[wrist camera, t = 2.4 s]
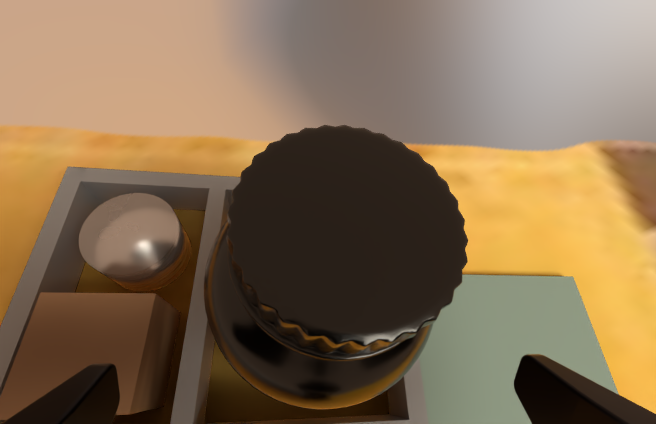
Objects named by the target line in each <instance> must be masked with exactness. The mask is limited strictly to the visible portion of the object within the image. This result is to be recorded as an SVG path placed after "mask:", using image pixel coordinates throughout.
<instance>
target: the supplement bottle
mask: <svg viewBox="0 0 656 424" xmlns="http://www.w3.org/2000/svg"><path fill="white" fill-rule="evenodd" d="M464 221H465V220H464V218H463V216H462V214H461V213H460V211H459V210H458V200H457V199H456V198H455V197H454V195H453V194H452V193H451V192H450V190H449V186H448V184H447V182H446V181H445V180H443V179H442V178H441V177H440V176H438V174H437V172H436V170H435V168H434V167H433V166H431V165H430V164H428V163H426V162H425V161H424V160H423V159H422V157H421V156H420V155H419V154H418V153H416V152H414V151H411V150H409V149H408V148H407V147H406V146H405V145H404V144H403V143H402V142H398V141H395V140H391V139H390V138H388V137H387V136H386V135H384V134H380V133H373V132H371V131H369V130H367V129H365V128H352V127H349V126H346V125H342V126H338V127H334V126H328V125H323V126H321V127H319V128H305V129H303V130H301V131H300V132H298V133H291V134H286V135H285V136H284V137H283V138H282V139H281V140H280V141H276V142H273V143H270V144H269V145H268V146H267V148H266V150H265V151H263V152H261V153H259V154H257V155H255V156H254V158H253V160H252V164H251V165H250V166H249V167H247V168H246V169H245V170H244V171H242V173H241V178H240V183H239V184H238V185H237V186H236V187H235V188H234V190H233V191H232V204H231V206H230V208H229V210H228V212H227V221H226V222H225V224H224V225H223V227H222V228H221V229H220V231H219V233H218V235H217V237H216V239H215V241H214V243H213V245H212V248H211V250H210V254H209V257H208V260H207V264H206V270H205V276H204V303H205V310H206V315H207V319H208V323H209V326H210V328H211V331H212V334H213V336H214V338H215V340H216V342H217V345H218V347H219V349H220V350H221V352H222V353H223V355H224V357H225V358H226V360H227V361H228V362H229V364H230V365H231V366H232V367H233V369H234V370H235V371H236V372H237V373H238V374H239V375H240V376H241V377H242V378H243V379H244V380H245V381H247V382H248V383H249V384H250V385H251V386H253V387H254V388H256V389H257V390H259V391H260V392H262V393H263V394H265V395H267V396H269V397H271V398H273V399H275V400H277V401H280V402H283V403H286V404H288V405H292V406H296V407H301V408H308V409H335V408H343V407H348V406H352V405H356V404H359V403H362V402H365V401H367V400H370V399H372V398H374V397H376V396H378V395H380V394H382V393H383V392H385V391H386V390H388V389H389V388H391V387H392V386H393V385H394V384H396V383H397V382H398V381H399V380H400V379H401V378H402V377H403V376H404V375H405V374H406V373H407V372H408V371H409V370H410V369H411V367H412V366H413V365H414V364H415V362H416V361H417V360H418V358H419V356H420V355H421V353H422V351H423V350H424V348H425V345H426V343H427V341H428V339H429V336H430V333H431V330H432V327H433V323H434V322H435V321H436V320H437V318H438V316H439V314H440V311H441V310H442V309H443V308H445V307H447V306H449V305H450V304H451V303H452V300H453V296H454V290H455V289H456V288H457V287H458V286H459V285H460V284H461V283H462V269H463V268H464V266H465V265H466V263H467V256H466V252H465V247H466V245H467V242H468V239H467V236H466V234H465V231H464Z"/></svg>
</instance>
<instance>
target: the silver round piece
mask: <svg viewBox="0 0 656 424" xmlns="http://www.w3.org/2000/svg"><path fill="white" fill-rule="evenodd" d="M79 249H80V252H81V254H82V256H83V258H84V260H85V261H86V262H87V263H88V264H89V265H90V266H92V267H93V268H94V269H96V270H97V271H99V272H101V273H102V274H104V275H105V276H107V277H108V278H110V279H111V280H113V281H115V282H116V283H118V284H119V285H121V286H122V287H124V288H126V289H129V290H132V291H138V292H148V291H154V290H157V289H160V288H163V287H165V286H167V285H169V284H170V283H172V282H173V281H175V280H176V279H177V278H178V277H179V276H180V275H181V274H182V273H183V271H184V270H185V268H186V267H187V265H188V263H189V260H190V256H191V243H190V239H189V237H188V235H187V234H186V232H185V230H184V228H183V226H182V225H181V223H180V221H179V219H178V218H177V216H176V214H175V212H174V211H173V209H172V208H171V206H170V205H169V204H168V203H167V202H165V201H164V200H162V199H161V198H159V197H157V196H154V195H150V194H145V193H130V194H124V195H120V196H117V197H114V198H112V199H110V200H108V201H106V202H104V203H103V204H101V205H100V206H98V207H97V208H96V209H95V210H94V211H93V212H92V213H91V214H90V215H89V216H88V217H87V219H86V220H85V222H84V224H83V226H82V228H81V231H80V234H79Z"/></svg>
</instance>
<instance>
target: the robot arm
mask: <svg viewBox="0 0 656 424" xmlns="http://www.w3.org/2000/svg"><path fill="white" fill-rule="evenodd" d="M514 389H515V392H516V394H517V396H518V398H519V400H520V402H521V404H522V406H523V408H524V410H525V411H526V413H527V415H528V417H529V419H530V421H531V423H532V424H656V414H654V413H652V412H651V411H649V410H647V409H645V408H643V407H641V406H639V405H637V404H635V403H634V402H632V401H630V400H628V399H626V398H624V397H622V396H620V395H618V394H616V393H615V392H613V391H611V390H609V389H607V388H605V387H603V386H601V385H599V384H597V383H596V382H594V381H592V380H590V379H588V378H586V377H584V376H582V375H580V374H578V373H577V372H575V371H573V370H571V369H569V368H567V367H565V366H563V365H561V364H559V363H558V362H556V361H554V360H552V359H550V358H548V357H546V356H544V355H541V354H526V355H524V356H523V357H522V358H521V360H520V363H519V366H518V369H517V372H516V375H515V378H514ZM119 401H120V391H119V383H118V375H117V369H116V366H115V365H114V364H112V363H101V364H91V365H89V366H87V367H85V368H84V369H82V370H81V371H79V372H78V373H76V374H75V375H73V376H72V377H70V378H69V379H67V380H66V381H64V382H63V383H61V384H60V385H58V386H57V387H55V388H54V389H52V390H51V391H49V392H48V393H46V394H45V395H43V396H42V397H40V398H39V399H37V400H36V401H34V402H33V403H31V404H30V405H28V406H26V407H25V408H23V409H22V410H20V411H19V412H17V413H16V414H14V415H13V416H11V417H10V418H8V419H7V420H5V421H4V422H2V423H1V424H112V422H113V420H114V417H115V414H116V412H117V409H118V406H119Z"/></svg>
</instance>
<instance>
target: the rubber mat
mask: <svg viewBox="0 0 656 424" xmlns="http://www.w3.org/2000/svg"><path fill="white" fill-rule="evenodd" d="M526 354H541V355H544V356H546V357H548V358H550V359H552V360H554V361H556V362H558V363H559V364H561V365H563V366H565V367H567V368H569V369H571V370H573V371H575V372H577V373H578V374H580V375H582V376H584V377H586V378H588V379H590V380H592V381H594V382H596V383H597V384H599V385H601V386H603V387H605V388H607V389H609V390H611V391H613V392H615V393H616V394H618V391H617V389H616V386H615V384H614V381H613V378H612V376H611V373H610V371H609V368H608V365H607V363H606V360H605V358H604V355H603V353H602V350H601V347H600V345H599V342H598V340H597V337H596V335H595V332H594V329H593V327H592V324H591V322H590V319H589V317H588V314H587V311H586V309H585V306H584V304H583V301H582V299H581V296H580V293H579V291H578V288H577V286H576V283H575V281H574V278H573V277H564V276H511V275H462V283H461V284H460V285H459V286H458V287H457V288H456V289H455V290H454V296H453V300H452V303H451V304H450V305H449V306H447V307H445V308H443V309H442V310H441V311H440V314H439V316H438V318H437V320H436V321H435V322H434V323H433V327H432V330H431V333H430V336H429V339H428V341H427V343H426V345H425V348H424V350H423V351H422V353H421V355H420V356H419V361H420V368H421V375H422V382H423V389H424V396H425V402H426V409H427V416H428V423H429V424H532V423H531V421H530V419H529V417H528V415H527V413H526V411H525V410H524V408H523V406H522V404H521V402H520V400H519V398H518V396H517V394H516V392H515V389H514V378H515V375H516V372H517V369H518V366H519V363H520V360H521V358H522V357H523V356H524V355H526ZM618 395H619V394H618Z"/></svg>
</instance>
